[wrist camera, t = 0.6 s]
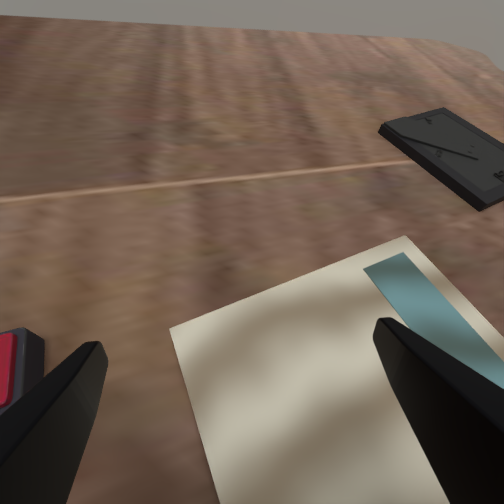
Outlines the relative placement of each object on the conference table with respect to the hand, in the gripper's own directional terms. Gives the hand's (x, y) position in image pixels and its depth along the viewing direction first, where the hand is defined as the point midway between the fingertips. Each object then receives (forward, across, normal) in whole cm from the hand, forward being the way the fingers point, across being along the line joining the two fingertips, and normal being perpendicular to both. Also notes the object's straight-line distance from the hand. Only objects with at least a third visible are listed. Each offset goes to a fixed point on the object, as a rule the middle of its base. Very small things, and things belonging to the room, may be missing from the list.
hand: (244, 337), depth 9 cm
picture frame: (+31, -32, +2) cm, 45 cm away
